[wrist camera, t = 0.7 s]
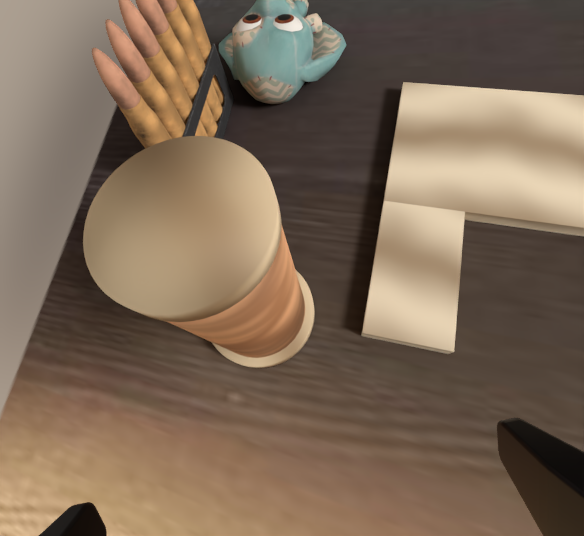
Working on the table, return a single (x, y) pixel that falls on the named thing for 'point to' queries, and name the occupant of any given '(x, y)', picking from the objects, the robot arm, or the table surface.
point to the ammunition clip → (166, 72)
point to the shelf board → (466, 195)
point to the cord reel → (201, 249)
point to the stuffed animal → (280, 49)
